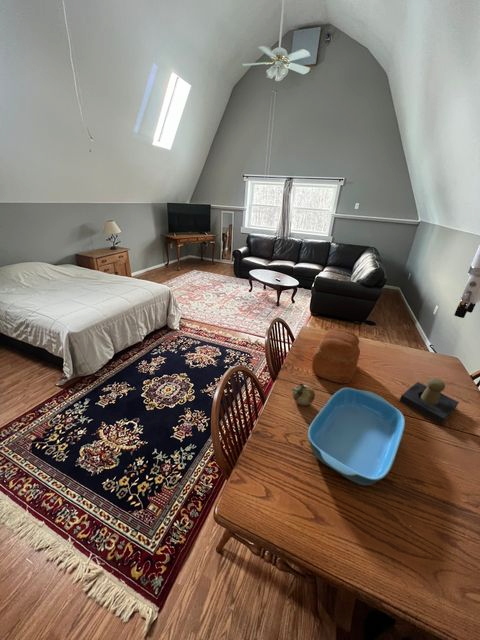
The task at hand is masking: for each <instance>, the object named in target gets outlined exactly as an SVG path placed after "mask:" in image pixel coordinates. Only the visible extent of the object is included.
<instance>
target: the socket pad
mask: <svg viewBox="0 0 480 640" xmlns="http://www.w3.org/2000/svg"><path fill="white" fill-rule="evenodd" d="M426 388H427V385H426V384H423V383H421V382H419V381H416V382H415V383H414V384H413V385H412V386H411V387H409V388H408V389H407V390H406V391H405V392H404V393H403V394H401V396H400V398H399V402H400V403H402V404H404V405H405V406H407V407H409V408H410V409H412V410H414V411H416V412H417V413H419V414H421V415H422V416H425V417H426V418H428V419H430V420H432V421H433V422H434V423H437V424H439V425H441V426H442V425H443V424H444V423H445V422H446V421H447V419H448V418H449V417H450V416H451V415H452V413H453V412H454V411H455V410H456V409H457V406H458V405H459V402H460V401H457V400H456V399H453V398H451V397H450V396H447V395H445V394H444V393H442V392H441V393H440V397H439V401H438V405H437V406H433V405H430V404H428V403H426V402H424V401H422V400H421V399H420V397H421V395H422V394H423V392H424V391H425V389H426Z"/></svg>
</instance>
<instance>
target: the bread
mask: <svg viewBox="0 0 480 640" xmlns="http://www.w3.org/2000/svg"><path fill="white" fill-rule="evenodd" d="M359 345H360V339H359V337H358V336H357V335H356V333H354V332H352V331H350V330H347V329H343V328H331V329H328V330H327V331H326V332H325V333H324V335H323V337H322V338H321V340H320V342H319V344H318V345H317V346H316V348H315V351H314V353H313V356H312V358H311V369H312V372H313V373H314V375H315V376H318V377H320V378H322V379H323V380H328V381H330V382H333V383H337V384H347V383H350V382H351V381H352V379H353V377H354V376H355V373H356V370H357V367H358V362H359V359H360V355H361V350H360V347H359Z"/></svg>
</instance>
